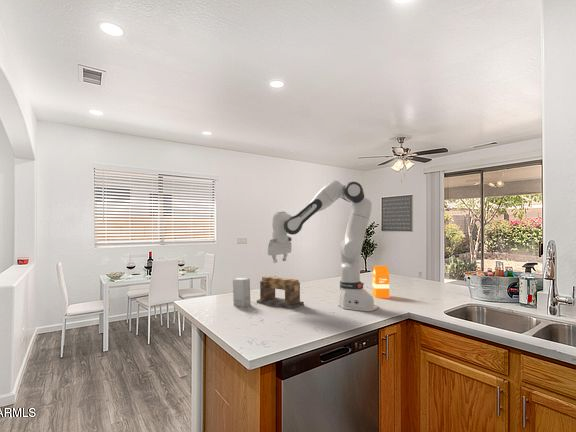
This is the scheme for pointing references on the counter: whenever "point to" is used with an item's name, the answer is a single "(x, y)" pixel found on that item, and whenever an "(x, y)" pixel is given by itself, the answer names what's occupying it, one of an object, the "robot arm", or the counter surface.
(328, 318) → the counter surface
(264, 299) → the slotted posts
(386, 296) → the orange juice
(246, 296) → the skincare box
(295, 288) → the oak rail
